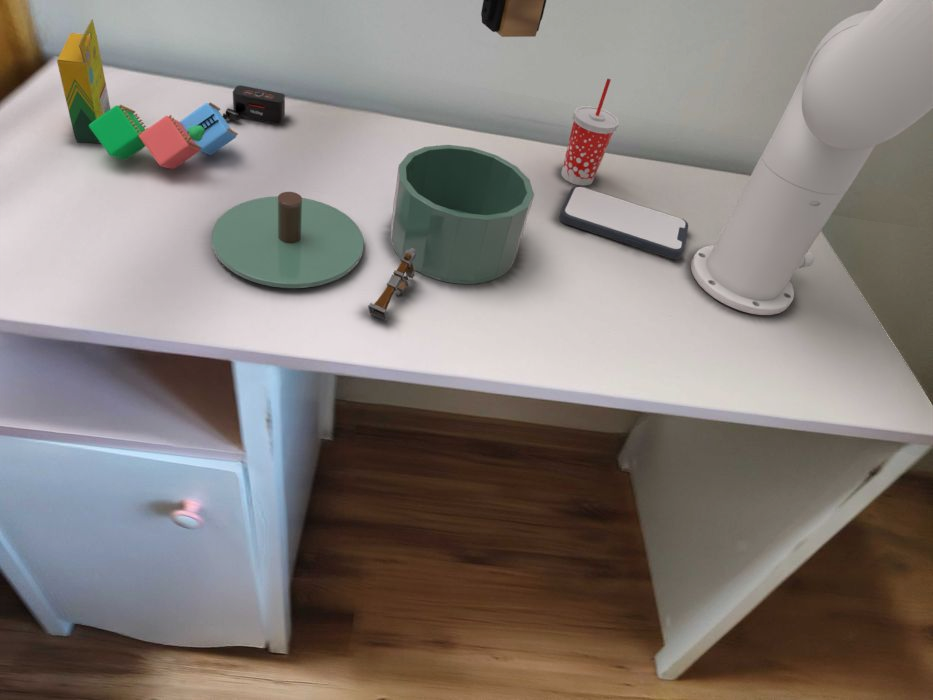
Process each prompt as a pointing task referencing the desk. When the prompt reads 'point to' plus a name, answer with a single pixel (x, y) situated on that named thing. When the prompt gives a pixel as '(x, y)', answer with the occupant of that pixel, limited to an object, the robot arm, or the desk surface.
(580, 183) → the beverage cup
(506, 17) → the oak block
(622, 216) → the smartphone
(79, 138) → the crayon box
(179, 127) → the building blocks
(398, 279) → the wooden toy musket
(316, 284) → the lid
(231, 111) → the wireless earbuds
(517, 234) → the tin
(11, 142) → the desk surface
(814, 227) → the robot arm
